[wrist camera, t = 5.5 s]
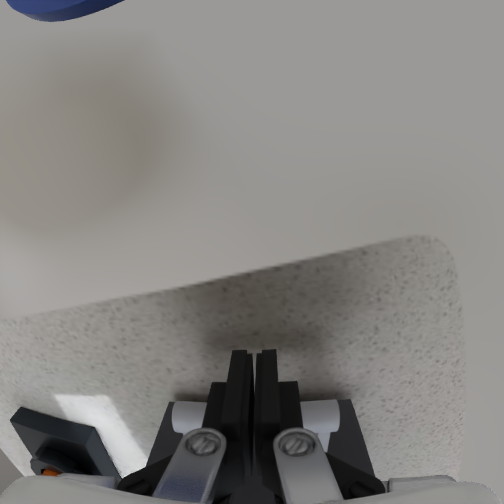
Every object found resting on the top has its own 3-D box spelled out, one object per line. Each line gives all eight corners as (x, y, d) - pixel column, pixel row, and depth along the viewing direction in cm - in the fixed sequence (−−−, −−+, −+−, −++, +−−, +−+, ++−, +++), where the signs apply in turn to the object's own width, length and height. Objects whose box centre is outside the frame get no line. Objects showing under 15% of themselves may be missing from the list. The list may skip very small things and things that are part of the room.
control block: (20, 406, 21) (-1, 431, 17) (94, 427, 21) (76, 460, 17) (62, 475, 24) (49, 498, 20) (131, 494, 24) (121, 522, 20)
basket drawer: (156, 345, 17) (103, 444, 10) (359, 342, 17) (407, 443, 9) (199, 501, 22) (187, 569, 14) (326, 500, 21) (336, 569, 14)
